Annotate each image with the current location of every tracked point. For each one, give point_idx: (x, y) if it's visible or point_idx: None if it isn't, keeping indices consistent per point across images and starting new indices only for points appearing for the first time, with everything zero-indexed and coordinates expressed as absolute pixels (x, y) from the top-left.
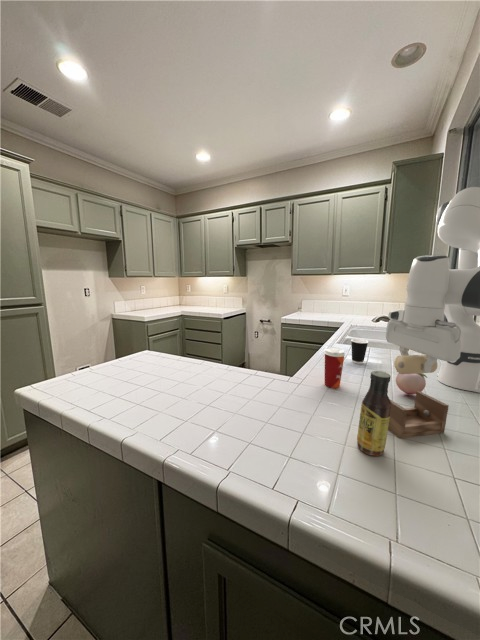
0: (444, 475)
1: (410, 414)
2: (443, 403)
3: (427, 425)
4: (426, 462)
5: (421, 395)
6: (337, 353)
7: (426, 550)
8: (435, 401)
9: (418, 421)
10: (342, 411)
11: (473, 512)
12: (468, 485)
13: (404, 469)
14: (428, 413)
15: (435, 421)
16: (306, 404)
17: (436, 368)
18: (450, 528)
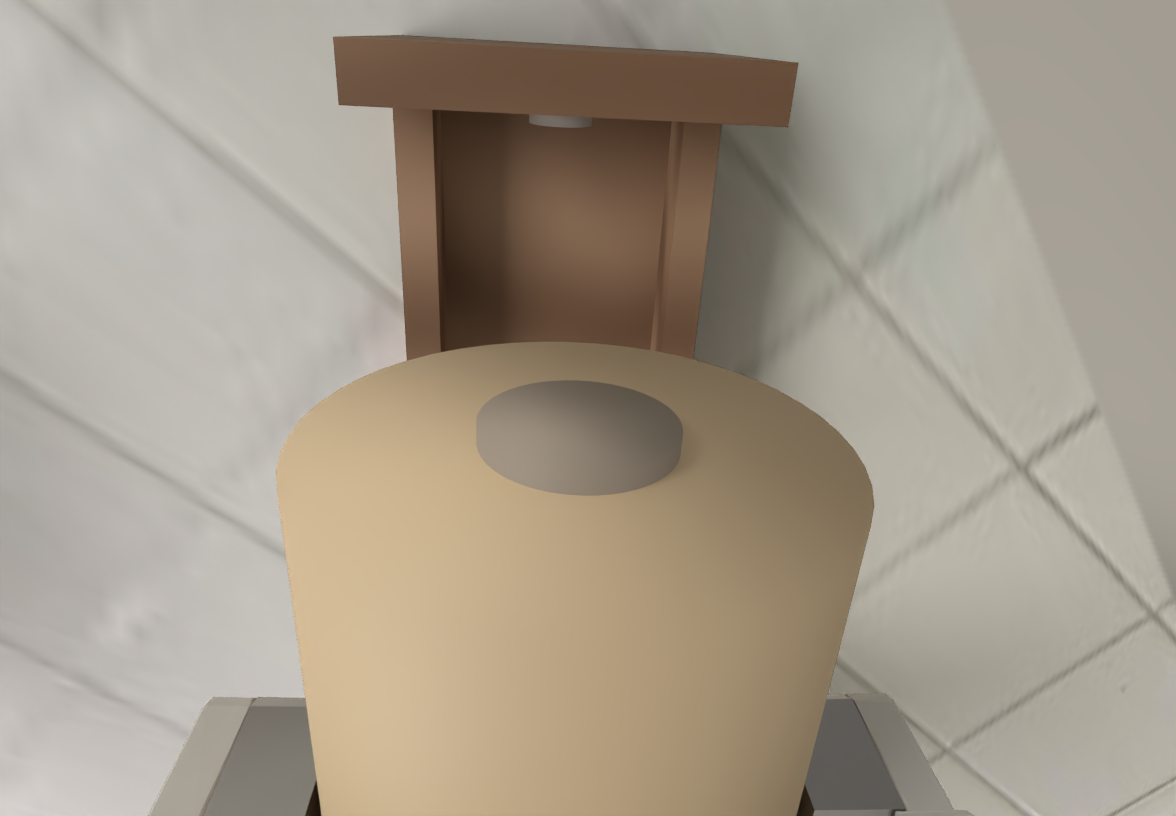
0: (990, 497)
1: (441, 174)
2: (738, 78)
3: (701, 272)
4: (887, 501)
5: (434, 106)
6: None
7: (1121, 798)
8: (653, 117)
9: (550, 186)
10: (262, 615)
11: (1158, 568)
12: (1087, 448)
13: (872, 636)
14: (590, 125)
15: (691, 151)
16: (144, 777)
17: (820, 426)
18: (1133, 693)
